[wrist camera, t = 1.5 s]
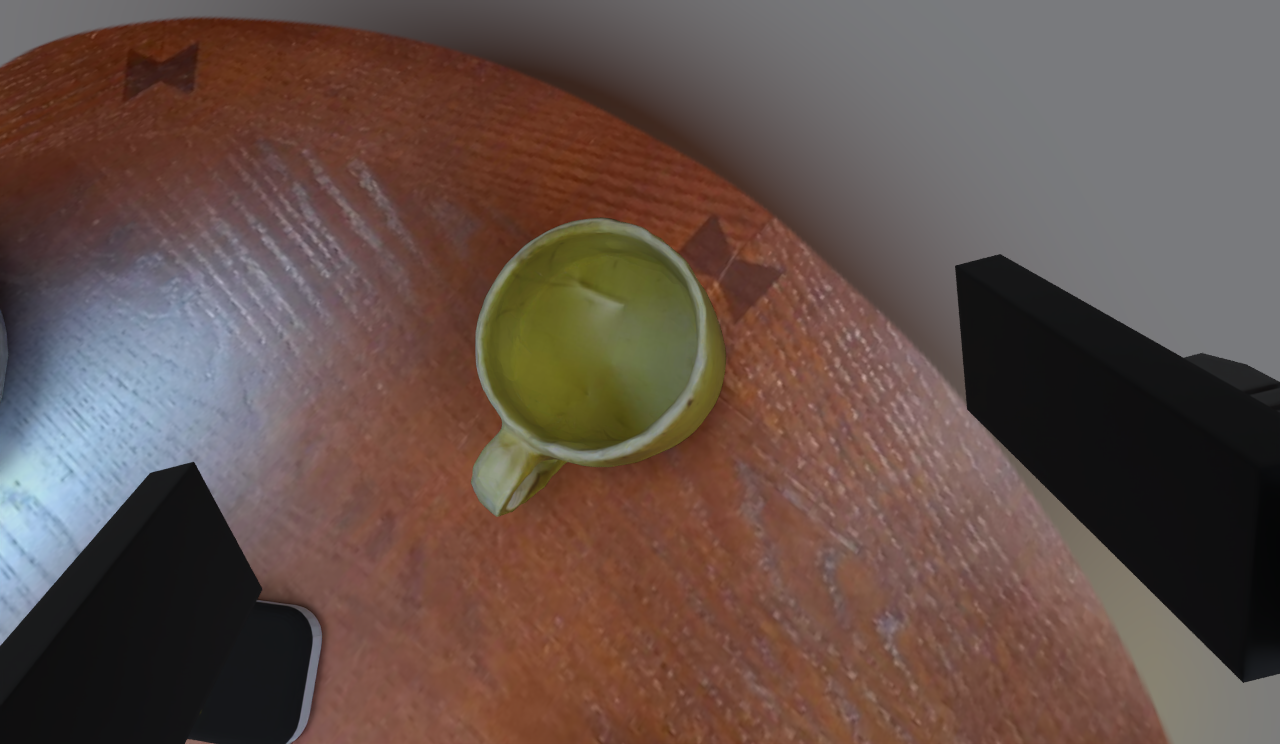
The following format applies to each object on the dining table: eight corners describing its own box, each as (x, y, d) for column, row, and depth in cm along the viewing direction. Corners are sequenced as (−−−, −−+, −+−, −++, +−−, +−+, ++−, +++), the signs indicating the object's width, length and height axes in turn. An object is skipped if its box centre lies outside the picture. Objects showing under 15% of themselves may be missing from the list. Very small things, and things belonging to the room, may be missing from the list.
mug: (624, 180, 39) (587, 162, 29) (777, 341, 39) (791, 378, 29) (446, 360, 41) (354, 400, 31) (591, 511, 41) (547, 597, 32)
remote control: (308, 750, 38) (282, 760, 36) (69, 708, 40) (32, 716, 38) (332, 608, 39) (308, 611, 37) (98, 576, 41) (64, 577, 39)
